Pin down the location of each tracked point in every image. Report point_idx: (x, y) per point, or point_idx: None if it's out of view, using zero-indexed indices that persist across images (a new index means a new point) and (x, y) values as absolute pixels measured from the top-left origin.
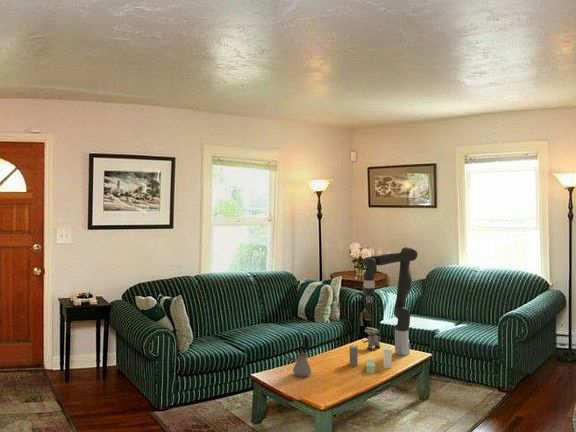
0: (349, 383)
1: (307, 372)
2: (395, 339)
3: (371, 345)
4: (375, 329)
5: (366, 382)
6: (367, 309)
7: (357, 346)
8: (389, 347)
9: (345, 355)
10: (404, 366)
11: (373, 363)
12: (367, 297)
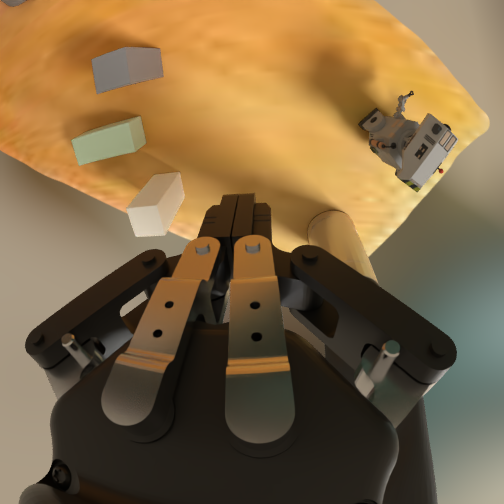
0: (14, 113)
1: (8, 5)
2: (336, 245)
3: (368, 128)
4: (418, 174)
5: (32, 150)
6: (220, 210)
7: (119, 86)
8: (161, 228)
9: (263, 13)
10: (190, 235)
11: (98, 156)
12: (57, 404)
